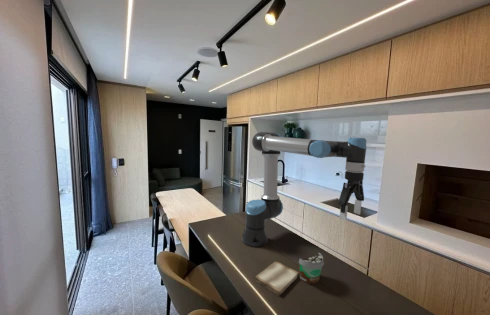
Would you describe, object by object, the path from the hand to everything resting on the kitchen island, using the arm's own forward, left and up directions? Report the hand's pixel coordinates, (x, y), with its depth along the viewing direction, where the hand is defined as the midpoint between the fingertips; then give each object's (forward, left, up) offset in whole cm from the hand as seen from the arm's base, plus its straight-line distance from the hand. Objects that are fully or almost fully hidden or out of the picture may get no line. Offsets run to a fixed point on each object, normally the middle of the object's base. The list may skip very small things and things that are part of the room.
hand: (350, 216), depth 94 cm
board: (-20, -29, -26) cm, 44 cm away
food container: (-8, -19, -26) cm, 33 cm away
